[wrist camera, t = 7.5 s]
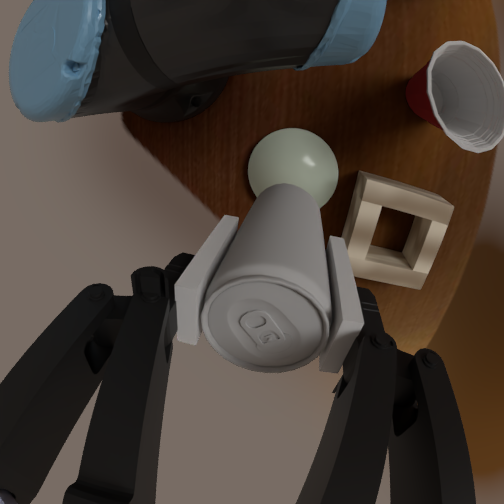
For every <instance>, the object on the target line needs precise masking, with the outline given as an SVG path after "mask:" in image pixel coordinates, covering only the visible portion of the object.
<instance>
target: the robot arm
mask: <svg viewBox="0 0 504 504" xmlns="http://www.w3.org/2000/svg"><path fill="white" fill-rule="evenodd" d="M386 1H387V0H33V2H32V3H31V5H30V6H29V8H28V10H27V11H26V13H25V15H24V17H23V19H22V20H21V23H20V25H19V27H18V30H17V33H16V35H15V38H14V42H13V45H12V50H11V55H10V62H9V84H10V90H11V95H12V98H13V101H14V103H15V105H16V107H17V108H18V109H20V112H21V113H22V114H23V115H24V116H25V117H26V118H27V119H29V120H32V121H35V122H46V121H56V122H64V121H67V120H69V119H70V118H75V117H81V116H87V115H95V114H103V113H111V112H123V111H131V112H133V113H135V114H137V115H138V116H140V117H142V118H144V119H147V120H150V121H154V122H175V121H181V120H185V119H189V118H191V117H193V116H196V115H197V114H199V113H201V112H202V111H204V110H205V109H207V108H208V107H209V106H210V105H211V104H212V103H213V102H214V101H215V100H216V99H217V98H218V96H219V95H220V94H221V92H222V91H223V89H224V87H225V85H226V83H227V80H228V77H229V76H234V75H240V74H246V73H253V72H260V71H268V70H278V69H289V68H293V69H294V70H305V69H307V68H309V67H313V66H326V65H343V64H348V63H352V62H354V61H356V60H357V59H359V58H360V57H361V56H362V55H364V54H366V53H367V51H368V50H369V49H370V48H371V46H372V45H373V43H374V41H375V39H376V37H377V35H378V33H379V30H380V28H381V25H382V21H383V18H384V13H385V8H386ZM238 219H239V217H233V216H228V215H224V217H223V218H222V219H221V221H220V222H219V223H218V225H217V226H216V227H215V229H214V230H213V232H212V233H211V234H210V236H209V237H208V238H207V240H206V241H205V243H204V244H203V245H202V247H201V248H200V250H199V251H198V252H197V254H196V255H192V254H187V253H181V254H179V255H177V256H175V257H174V258H173V259H172V260H171V262H170V263H169V265H167V266H166V268H165V270H163V269H161V268H158V267H154V266H151V267H143V268H139V269H137V270H136V271H134V272H133V274H132V275H131V281H132V287H133V296H115V295H114V294H113V290H112V288H111V287H110V286H108V285H106V284H101V283H99V284H92V285H90V286H87V287H86V288H85V289H83V290H82V291H81V292H80V293H79V294H78V295H77V296H76V297H75V298H74V299H73V300H72V301H71V302H70V303H69V305H67V307H66V308H65V309H64V310H63V311H62V312H61V313H60V314H59V315H58V316H57V317H56V318H55V319H54V320H53V321H52V323H51V324H50V325H49V326H48V327H47V328H46V329H45V330H44V332H43V333H42V334H41V335H40V336H39V337H38V338H37V339H36V341H35V342H34V343H33V344H32V345H31V346H30V348H29V349H28V350H27V351H26V352H25V353H24V355H23V356H22V357H21V358H20V359H19V361H18V362H17V363H16V364H15V366H14V367H13V368H12V369H11V371H10V372H9V373H8V375H7V376H6V377H5V379H4V380H3V381H2V382H1V384H0V504H30V503H31V501H32V500H33V499H34V498H35V497H36V495H37V493H38V492H39V490H40V488H41V486H42V485H43V482H44V481H45V479H46V477H47V475H48V473H49V471H50V469H51V467H52V465H53V463H54V461H55V460H56V458H57V456H58V454H59V452H60V450H61V449H62V447H63V445H64V443H65V441H66V440H67V438H68V436H69V434H70V433H71V431H72V429H73V427H74V426H75V424H76V422H77V421H78V419H79V417H80V415H81V414H82V412H83V410H84V409H85V407H86V405H87V404H88V402H89V400H90V399H91V397H92V396H93V394H94V392H95V391H96V389H97V387H98V386H99V384H100V383H101V381H102V383H101V386H100V390H99V393H98V396H97V400H96V403H95V407H94V410H93V414H92V418H91V421H90V426H89V430H88V433H87V437H86V442H85V446H84V451H83V455H82V460H81V465H80V470H79V475H78V478H77V480H76V482H75V483H73V484H72V485H70V486H69V487H68V488H67V490H66V492H65V495H64V499H63V504H155V498H156V482H157V468H158V457H159V447H160V437H161V428H162V420H163V411H164V404H165V396H166V389H167V382H168V375H169V369H170V363H171V356H172V350H173V343H172V339H173V337H174V335H175V334H176V332H177V340H178V341H181V342H185V343H188V344H192V345H196V344H197V342H198V339H199V337H200V335H201V332H202V326H201V313H202V310H203V307H204V304H203V302H204V299H205V296H206V292H207V289H208V287H209V285H210V283H211V281H212V279H213V277H214V276H215V274H216V272H217V270H218V268H219V266H220V264H221V262H222V260H223V259H224V257H225V255H226V253H227V251H228V249H229V247H230V245H231V244H232V242H233V240H234V238H235V236H236V234H237V228H238ZM326 259H327V268H328V276H329V286H330V296H331V307H332V323H331V326H330V329H329V337H328V340H327V343H326V346H325V348H324V349H323V350H322V352H321V353H320V354H319V357H320V358H319V371H323V372H331V373H338V372H339V370H340V368H341V366H342V365H343V375H342V377H341V379H340V380H339V382H338V384H337V385H336V387H335V388H334V390H333V392H332V393H335V392H336V394H335V397H334V401H333V404H332V407H331V411H330V414H329V417H328V421H327V424H326V427H325V430H324V433H323V436H322V439H321V441H320V444H319V447H318V450H317V453H316V455H315V458H314V461H313V464H312V466H311V469H310V471H309V474H308V476H307V479H306V481H305V483H304V486H303V488H302V491H301V493H300V495H299V498H298V500H297V502H296V504H375V502H376V499H377V495H378V491H379V487H380V483H381V479H382V474H383V469H384V464H385V459H386V454H387V448H388V450H389V464H390V465H389V466H390V493H391V494H390V497H391V504H476V498H475V489H474V481H473V474H472V468H471V462H470V457H469V451H468V446H467V442H466V438H465V433H464V429H463V424H462V421H461V417H460V413H459V409H458V406H457V402H456V399H455V396H454V393H453V389H452V386H451V383H450V380H449V377H448V374H447V371H446V368H445V366H444V363H443V361H442V359H441V357H440V356H439V355H438V354H437V353H436V352H434V351H432V350H430V349H426V348H424V349H420V350H418V351H417V352H416V354H415V355H411V354H408V353H406V352H403V351H401V350H399V349H397V346H396V342H395V341H394V339H393V338H392V337H391V336H390V335H388V334H387V333H385V331H384V327H383V323H382V320H381V316H380V313H379V309H378V306H377V302H376V299H375V296H374V295H373V294H372V293H371V291H370V290H369V289H366V288H361V287H356V283H355V279H354V275H353V271H352V267H351V263H350V259H349V256H348V252H347V248H346V245H345V241H344V238H339V237H335V236H330V238H329V241H328V245H327V249H326ZM102 379H103V380H102Z"/></svg>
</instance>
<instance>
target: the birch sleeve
mask: <svg viewBox="0 0 504 504" xmlns="http://www.w3.org/2000/svg"><path fill="white" fill-rule="evenodd" d="M382 206H384V207H388V208H392V209H395V210H399V211H402V212H406V213H409V214H413V215H415V218H414V221H413V224H412V227H411V230H410V233H409V235H408V238H407V241H406V244H405V246H404V249H403V251H402V252H398V251H394V250H390V249H386V248H381V247H377V246H373V245H370V243H371V240H372V237H373V234H374V231H375V228H376V225H377V221H378V218H379V215H380V211H381V208H382ZM453 209H454V206H453V205H451V204H450V203H449V202H447V201H446V200H445V199H443V198H442V197H441V196H439V195H438V194H435V193H432V192H429V191H426V190H423V189H420V188H417V187H414V186H411V185H408V184H405V183H401V182H398V181H395V180H392V179H388V178H385V177H381V176H378V175H374V174H370V173H367V172H363V171H359V172H358V176H357V180H356V184H355V188H354V192H353V196H352V200H351V204H350V208H349V212H348V215H347V219H346V222H345V226H344V230H343V233H342V237H341V238H344V241H345V245H346V248H347V252H348V256H349V259H350V263H351V267H352V271H353V275H354V277H359V278H364V279H369V280H375V281H380V282H385V283H390V284H395V285H400V286H405V287H410V288H415V289H420V290H421V288H422V285H423V283H424V281H425V279H426V277H427V275H428V273H429V270H430V268H431V266H432V264H433V261H434V259H435V257H436V254H437V252H438V249H439V247H440V244H441V242H442V239H443V237H444V234H445V232H446V229H447V226H448V223H449V221H450V218H451V215H452V212H453Z"/></svg>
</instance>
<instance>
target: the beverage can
mask: <svg viewBox="0 0 504 504" xmlns="http://www.w3.org/2000/svg"><path fill="white" fill-rule="evenodd" d="M203 304H204V307H203V310H202V313H201V326H202V330H203V332H204V335H205V337H206V339H207V341H208V342H209V344H210V345H211V346H212V347H213V349H214V350H215V351H216V352H217V353H219V354H220V355H221V356H222V357H223V358H224V359H226V360H228V361H230V362H231V363H233V364H235V365H237V366H240V367H242V368H245V369H248V370H251V371H257V372H264V373H281V372H286V371H292V370H295V369H298V368H300V367H302V366H305V365H307V364H309V363H310V362H311V361H313V360H314V359H315V358H317V357H318V356H319V354H320V353H321V352H322V350H323V349H324V348H325V346H326V343H327V340H328V337H329V329H330V326H331V323H332V307H331V296H330V286H329V276H328V268H327V259H326V251H325V244H324V236H323V229H322V222H321V216H320V209H319V207H318V204H317V202H316V200H315V199H314V198H313V197H312V196H311V195H310V194H309V193H308V192H306V191H305V190H303V189H302V188H300V187H297V186H295V185H292V184H286V183H282V184H275V185H273V186H270V187H268V188H266V189H265V190H264V191H263V192H261V193H260V195H259V196H258V197H257V199H256V200H255V202H254V204H253V206H252V207H251V209H250V211H249V213H248V214H247V216H246V218H245V220H244V221H243V223H242V225H241V227H240V229H239V231H238V232H237V234H236V236H235V238H234V240H233V242H232V244H231V245H230V247H229V249H228V251H227V253H226V255H225V257H224V259H223V260H222V262H221V264H220V266H219V268H218V270H217V272H216V274H215V276H214V277H213V279H212V281H211V283H210V285H209V287H208V289H207V292H206V296H205V299H204V302H203Z"/></svg>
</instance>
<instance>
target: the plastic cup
mask: <svg viewBox="0 0 504 504" xmlns="http://www.w3.org/2000/svg"><path fill="white" fill-rule="evenodd" d="M406 99H407V102H408V105H409V107H410V108H411V109H412V111H413V112H414V113H415V114H416V115H418V116H419V117H421V118H422V119H424V120H426V121H428V122H429V123H430V124H432V125H434V126H436V127H438V128H440V129H441V130H443V131H444V132H445V134H446V135H447V136H448V137H450V138H451V139H452V140H453V141H454V142H456V143H457V144H458V145H459V146H460V147H461V148H462V149H466V150H469V151H473V152H476V153H480V152H484V151H487V150H491V149H493V148H494V147H495V146H496V145H497V143H498V142H499V141H500V140H501V139H502V138H503V135H504V81H503V79H502V77H501V75H500V73H499V72H498V70H497V68H496V66H495V65H494V63H493V62H492V61H491V60H490V59H489V58H488V57H487V56H486V55H485V54H484V53H483V52H482V51H481V50H480V49H479V48H477V47H475V46H473V45H471V44H469V43H466V42H464V41H448V42H446V43H445V44H443V45H442V46H441V47H439V48H438V49H437V50H436V51H434V53H433V55H432V57H431V59H430V61H429V62H427V64H426V65H425V66H424V67H423V68H422V69H420V70H419V71H418V72H417V73H416V74H415V75H414V76H413V77H412V78H411V79H410V80H409V82H408V84H407V86H406Z"/></svg>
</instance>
